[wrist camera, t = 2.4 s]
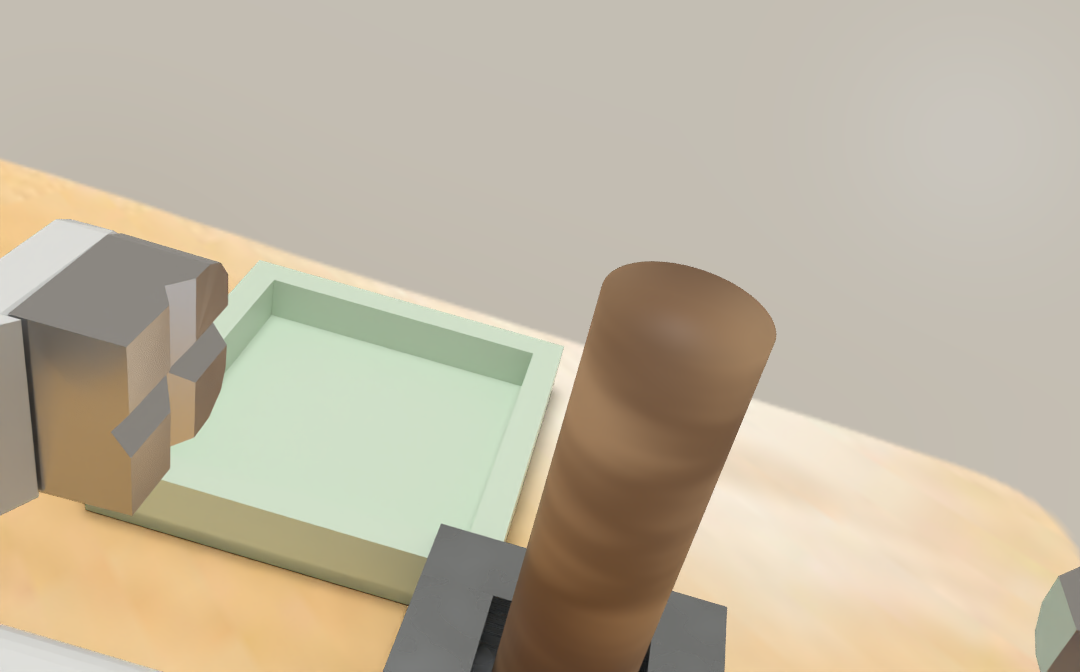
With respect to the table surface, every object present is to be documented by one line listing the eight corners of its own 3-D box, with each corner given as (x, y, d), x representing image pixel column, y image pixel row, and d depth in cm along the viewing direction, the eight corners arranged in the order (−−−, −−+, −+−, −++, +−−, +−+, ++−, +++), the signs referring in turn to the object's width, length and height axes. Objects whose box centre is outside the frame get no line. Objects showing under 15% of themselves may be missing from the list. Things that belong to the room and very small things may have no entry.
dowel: (462, 773, 30) (589, 331, 21) (493, 665, 33) (613, 245, 24) (594, 813, 30) (777, 384, 21) (611, 700, 33) (775, 290, 24)
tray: (85, 509, 36) (82, 456, 34) (256, 305, 47) (259, 260, 46) (479, 626, 35) (492, 577, 34) (552, 389, 47) (564, 346, 46)
